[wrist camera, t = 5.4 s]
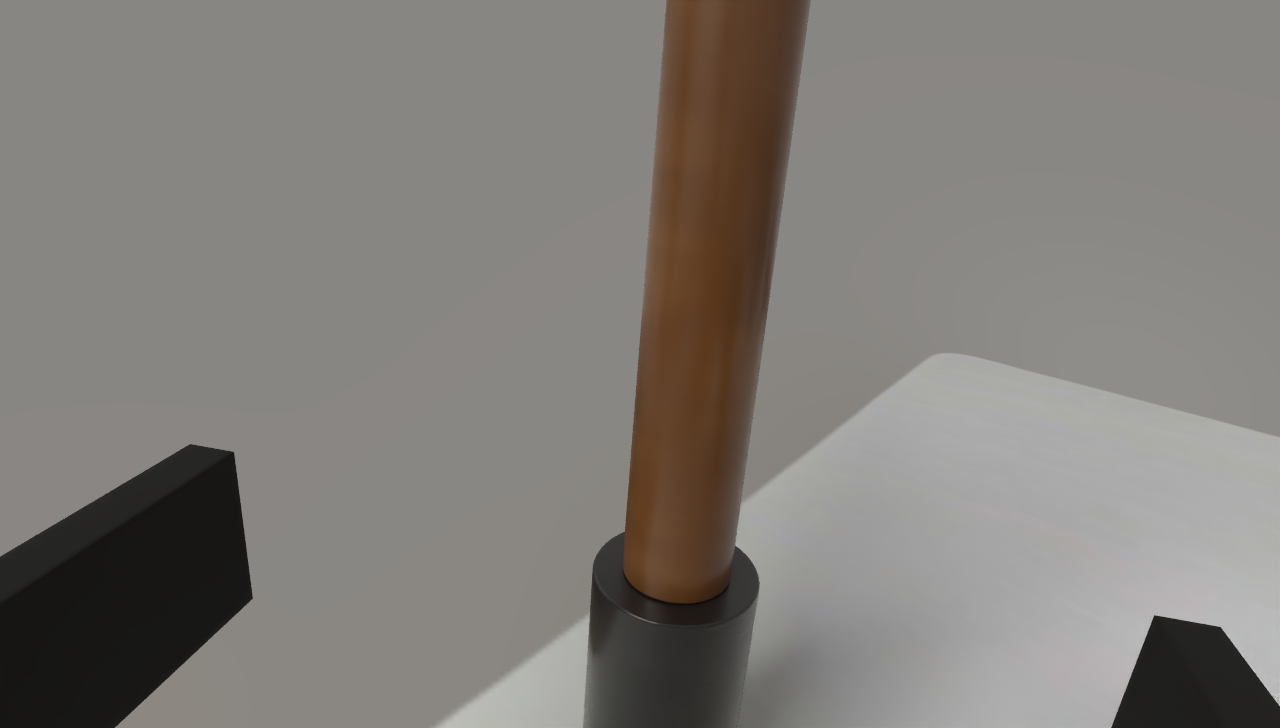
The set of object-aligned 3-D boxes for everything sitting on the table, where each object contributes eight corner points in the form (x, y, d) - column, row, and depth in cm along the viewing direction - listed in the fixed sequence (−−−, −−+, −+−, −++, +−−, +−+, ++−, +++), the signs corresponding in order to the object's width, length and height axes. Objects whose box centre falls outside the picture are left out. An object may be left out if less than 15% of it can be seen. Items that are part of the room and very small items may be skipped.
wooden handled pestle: (586, 861, 19) (650, -60, 12) (574, 730, 23) (617, -33, 15) (743, 846, 20) (895, -34, 12) (707, 722, 23) (808, -14, 16)
